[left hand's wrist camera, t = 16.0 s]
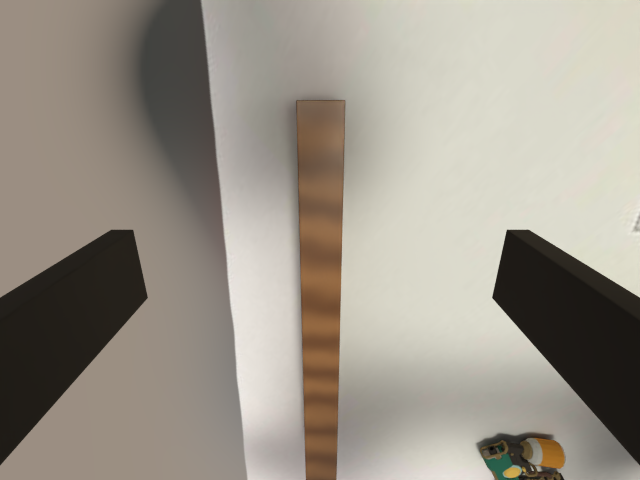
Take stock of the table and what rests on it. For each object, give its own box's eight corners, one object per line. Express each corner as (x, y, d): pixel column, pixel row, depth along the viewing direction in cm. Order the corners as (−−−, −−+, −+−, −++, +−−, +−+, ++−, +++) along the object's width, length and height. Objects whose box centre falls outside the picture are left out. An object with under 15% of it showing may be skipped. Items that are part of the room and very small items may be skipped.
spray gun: (555, 481, 67) (476, 488, 68) (565, 425, 60) (476, 434, 61) (569, 506, 63) (485, 513, 64) (581, 449, 56) (485, 458, 57)
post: (300, 100, 41) (296, 100, 33) (340, 100, 41) (345, 100, 33) (307, 432, 61) (306, 481, 53) (334, 432, 61) (336, 481, 53)
